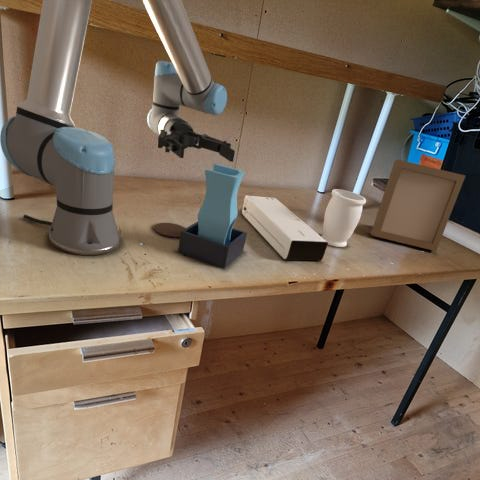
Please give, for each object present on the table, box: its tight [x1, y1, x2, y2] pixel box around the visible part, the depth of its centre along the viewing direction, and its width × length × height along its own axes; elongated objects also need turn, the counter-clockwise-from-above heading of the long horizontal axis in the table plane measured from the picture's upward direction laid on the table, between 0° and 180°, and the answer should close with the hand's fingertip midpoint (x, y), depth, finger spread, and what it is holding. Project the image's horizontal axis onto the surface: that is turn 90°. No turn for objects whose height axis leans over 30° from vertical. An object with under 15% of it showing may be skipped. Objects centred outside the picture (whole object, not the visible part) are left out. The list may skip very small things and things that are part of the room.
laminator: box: [241, 194, 329, 262], centre depth 122 cm, size 34×12×6 cm, turn 21°
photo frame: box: [370, 159, 466, 252], centre depth 139 cm, size 15×22×25 cm
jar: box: [320, 188, 367, 248], centre depth 125 cm, size 11×10×15 cm
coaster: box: [153, 222, 186, 239], centre depth 111 cm, size 9×9×1 cm
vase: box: [197, 162, 245, 246], centre depth 99 cm, size 8×8×20 cm
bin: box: [177, 220, 248, 269], centre depth 104 cm, size 13×13×6 cm
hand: (208, 154), depth 100 cm, fingers open, 13 cm apart
